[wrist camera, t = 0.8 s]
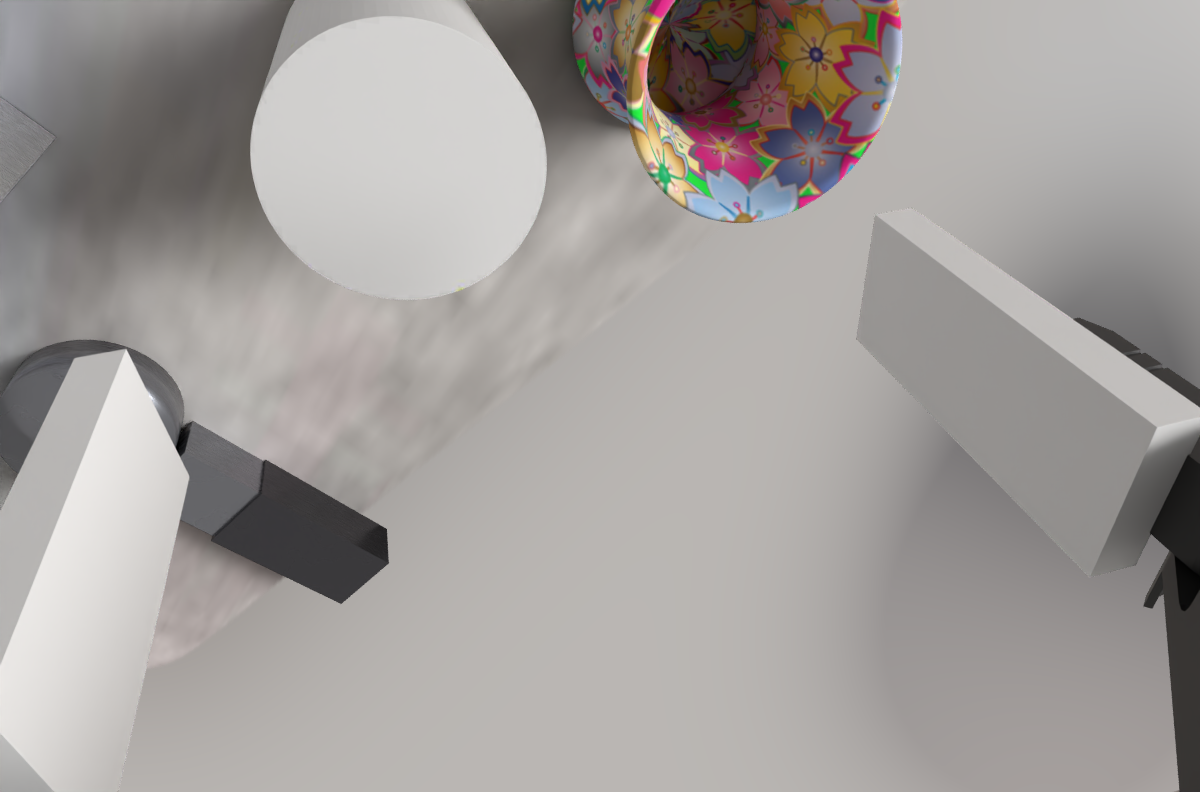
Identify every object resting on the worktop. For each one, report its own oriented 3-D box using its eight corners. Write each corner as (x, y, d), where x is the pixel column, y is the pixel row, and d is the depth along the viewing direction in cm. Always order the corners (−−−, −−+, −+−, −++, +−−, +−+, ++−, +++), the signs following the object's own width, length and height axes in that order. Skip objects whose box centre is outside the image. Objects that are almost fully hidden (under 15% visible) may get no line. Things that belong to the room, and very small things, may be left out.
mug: (690, 167, 38) (787, 264, 30) (517, 69, 34) (574, 151, 25) (850, -89, 33) (1018, -61, 25) (673, -241, 29) (805, -268, 21)
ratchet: (-24, 412, 36) (-97, 528, 30) (70, 310, 35) (13, 410, 29) (322, 584, 47) (319, 693, 41) (406, 511, 46) (415, 615, 40)
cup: (259, 130, 32) (222, 256, 23) (309, -85, 29) (290, -41, 19) (452, 195, 36) (490, 328, 26) (519, 10, 32) (590, 87, 23)
